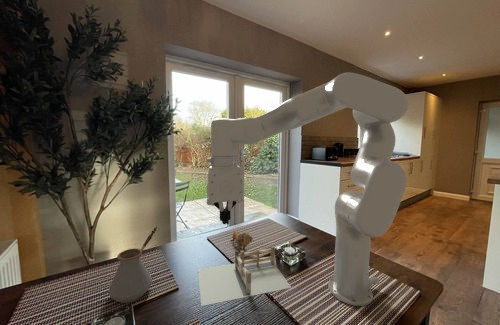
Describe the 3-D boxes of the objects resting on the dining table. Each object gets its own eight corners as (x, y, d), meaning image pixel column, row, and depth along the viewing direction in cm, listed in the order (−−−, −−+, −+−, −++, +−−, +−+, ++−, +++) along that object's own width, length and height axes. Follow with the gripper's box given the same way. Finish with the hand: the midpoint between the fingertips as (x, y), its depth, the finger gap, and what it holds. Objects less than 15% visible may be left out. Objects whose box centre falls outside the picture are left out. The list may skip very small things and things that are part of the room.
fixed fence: (273, 262, 82) (273, 246, 81) (274, 264, 81) (274, 247, 80) (239, 268, 78) (239, 250, 78) (240, 269, 77) (240, 252, 77)
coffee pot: (137, 310, 59) (135, 258, 58) (99, 306, 61) (95, 255, 59) (173, 265, 80) (172, 227, 79) (144, 263, 82) (142, 225, 80)
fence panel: (234, 267, 78) (234, 250, 77) (237, 267, 78) (238, 250, 78) (247, 293, 65) (247, 273, 64) (250, 292, 65) (251, 272, 64)
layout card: (270, 259, 85) (270, 257, 85) (291, 288, 68) (291, 287, 68) (197, 270, 77) (197, 268, 77) (201, 307, 60) (201, 305, 60)
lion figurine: (254, 254, 89) (254, 233, 88) (243, 258, 86) (244, 236, 85) (234, 240, 101) (235, 222, 100) (225, 243, 98) (225, 224, 97)
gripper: (199, 163, 57) (200, 230, 59) (252, 162, 62) (252, 224, 63) (197, 161, 64) (198, 220, 66) (245, 160, 69) (245, 215, 70)
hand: (225, 222), depth 65 cm, fingers closed
